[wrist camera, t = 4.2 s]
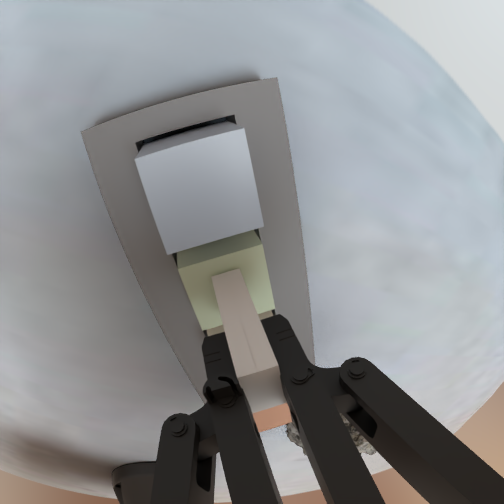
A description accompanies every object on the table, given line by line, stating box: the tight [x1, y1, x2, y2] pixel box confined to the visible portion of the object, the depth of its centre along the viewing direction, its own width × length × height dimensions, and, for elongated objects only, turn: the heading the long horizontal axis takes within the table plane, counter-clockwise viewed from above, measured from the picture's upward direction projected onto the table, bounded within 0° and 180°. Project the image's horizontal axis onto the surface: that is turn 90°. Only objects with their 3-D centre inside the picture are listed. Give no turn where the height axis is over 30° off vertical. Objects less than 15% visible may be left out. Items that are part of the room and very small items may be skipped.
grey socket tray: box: [81, 78, 315, 404], centre depth 21 cm, size 10×26×3 cm, turn 11°
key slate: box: [135, 121, 264, 255], centre depth 14 cm, size 4×4×4 cm
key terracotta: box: [252, 403, 292, 432], centre depth 23 cm, size 4×4×4 cm
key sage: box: [177, 230, 275, 331], centre depth 18 cm, size 4×4×4 cm
